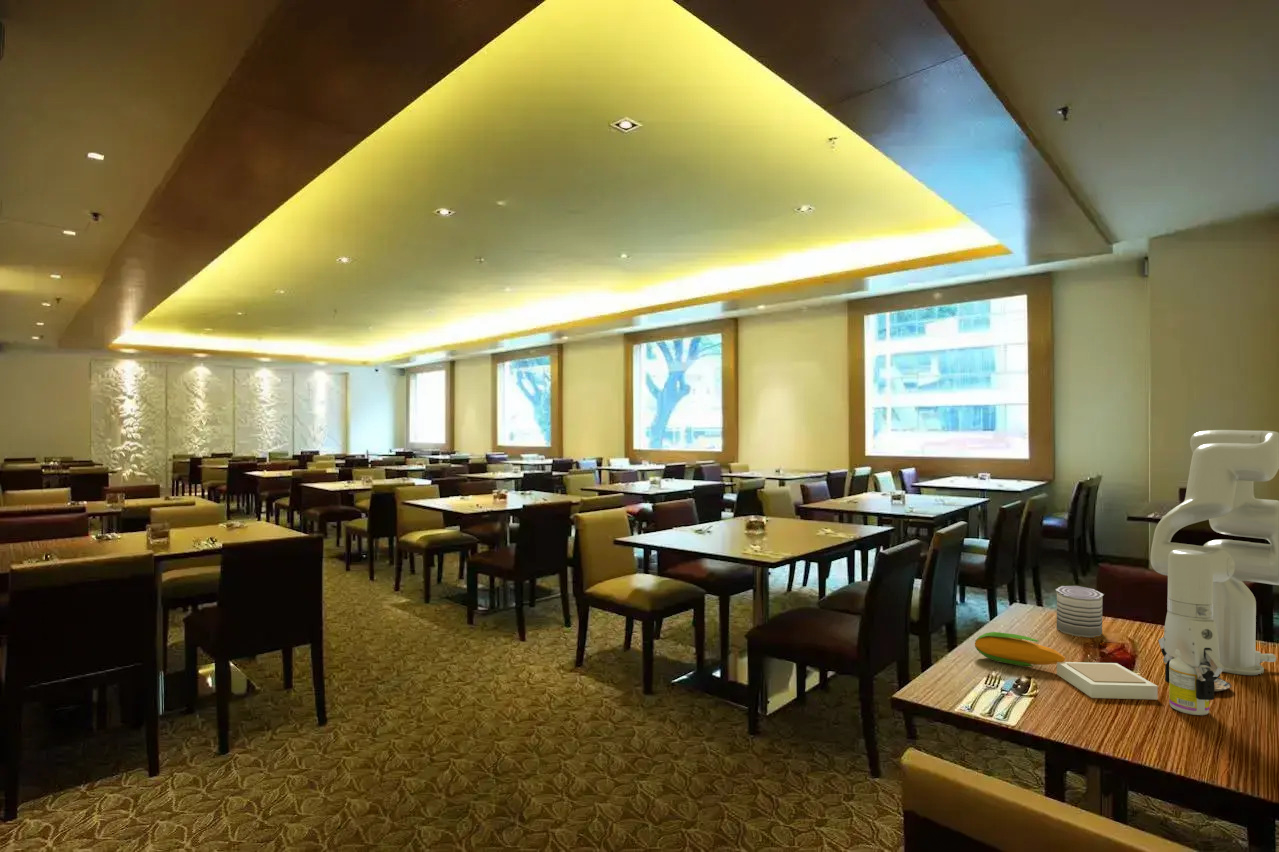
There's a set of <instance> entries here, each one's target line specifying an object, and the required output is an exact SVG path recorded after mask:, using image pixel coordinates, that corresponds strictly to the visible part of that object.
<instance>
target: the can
mask: <svg viewBox="0 0 1279 852" xmlns="http://www.w3.org/2000/svg"><path fill="white" fill-rule="evenodd" d="M1055 591H1056V629H1057V631H1059V630H1060V631H1059V632H1061V633H1062V634H1066V633H1067V635H1070V634H1071V636H1074V637H1081V636H1082V638H1096V637H1095V636H1100V635H1101V634H1102V635H1103V596H1104V595H1105V593H1102V592H1100V591H1098V590H1096V589H1094V588H1090V587H1084V586H1079V585H1061V586H1059V587H1057V588H1055ZM1102 635H1101V636H1102ZM1101 636H1100V637H1101Z"/></svg>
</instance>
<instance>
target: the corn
mask: <svg viewBox="0 0 1279 852" xmlns="http://www.w3.org/2000/svg"><path fill="white" fill-rule="evenodd" d="M1036 642H1039V640H1038V639H1035V638H1031V636H1030V637H1029V636H1025V635H1020V634H1015V633H1006V632H1000V631H990V632H986V633H983V634H981V635H979V636H978V637H977V638H976V639H975V641H974V646H975V647H974V648H975V649H976V650H977V652H978V653H980V655H982V656H984V657H985V658H986V659H990V660H991V661H994V662H999V663H1004V664H1009V665H1014V666H1019V667H1028V668H1033V665H1038V666H1047V665H1057V662H1065V660H1066V657H1065V656H1064V655H1063V654H1061V653H1060V652H1059V651H1057V650H1055V649H1054V648H1051V647H1047V646H1045V645H1042V644H1038V643H1036Z"/></svg>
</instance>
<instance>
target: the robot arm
mask: <svg viewBox="0 0 1279 852" xmlns="http://www.w3.org/2000/svg"><path fill="white" fill-rule="evenodd" d="M1189 445H1190V449H1191V452H1192V456H1191V462H1190V467H1189V473H1188V478H1187V484H1186V489H1185V490H1186V492H1185V496H1184V500H1183V501H1182V502H1181V503H1180V504H1178V505H1177V506H1175V507H1173V508H1172V509H1170V510H1169V511H1168V512H1166V514H1164V515H1163V516H1162V518H1161V519H1160V521H1158V523H1157V525H1156V527H1155V529H1154V533H1153V538H1152V542H1151V543H1152V544H1151V549H1150V557H1149V558H1150V559H1149V560H1150V564H1151V567H1152V569H1153V571H1155V572H1156V573H1158V574H1160V575H1163V576H1167V603H1166V605H1167V607H1166V608H1167V612H1166V616H1165V622H1164V632H1163V637H1161V638H1159V639H1158V643H1159V646H1160V649H1161V650H1160V652H1161V653H1162V656H1163V658H1162V659H1163V663H1164V666H1165V667H1164V668H1165V669H1164V680H1165V682H1166V683H1167V684H1169V662H1170V660H1171V659H1173V658H1177V655H1176V654H1175V651H1176V649H1178V650H1179V651H1180V653H1181V655H1182V656H1181V657H1180V658H1181V660H1182V661H1183V662H1185V663H1186V664H1188V665H1190V666H1193V667H1194V668H1195V670H1196V673H1197V675H1198V677H1199V679H1196V698H1197V699H1199V700H1209V701H1213V700H1214V699H1215V691H1214V682H1216V681H1217V678H1220V676H1221V674H1222V672H1223V673H1228V674H1234V675H1242V676H1259V675H1258V674H1260V675H1262V674H1264V672H1265V670H1264V669H1265V668H1264V666H1263V665H1261V663H1263V662H1267V663H1268V662H1269V663H1275V662H1276V661H1277V656H1276V655H1275V654H1274V653H1262V652H1260V651H1257V650H1256V635H1257V634H1256V627H1257V626H1256V625H1257V624H1256V622H1257V619H1256V618H1257V617H1256V616H1257V601H1256V597H1255V596H1254V594H1253V592H1252V591H1251V590H1250V588H1249V587H1248V586H1247V585H1246V584H1245V583H1244V582H1252V583H1259V584H1267V585H1273V586H1274V585H1275V586H1279V500H1278V499H1277V500H1276V499H1265V498H1264V499H1263V498H1256V497H1255V493H1254V491H1255V490H1254V488H1255V487H1254V483H1255V482H1269V481H1271V480H1272V479H1274V478H1275V476H1276V475H1277V473H1278V472H1279V432H1278V431H1273V430H1249V429H1247V430H1240V429H1238V430H1237V429H1213V430H1212V429H1210V430H1209V429H1207V430H1201V431H1197V432H1195V433H1193V434H1192V435H1191V437H1190V441H1189ZM1204 521H1208V522H1209V523H1208V524H1209V526H1210V528H1211V529H1212V530H1213V531H1214V532H1216V533H1217V534H1218V533H1219V534H1222V535H1226V536H1227V535H1228V536H1234V537H1244V538H1253V539H1263V540H1266V541H1268V543H1261V542H1251V541H1243V540H1236V539H1235V540H1233V539H1222V538H1221V539H1213V540H1209V541H1207V542H1205V543H1204V544H1203V545H1196V544H1187V543H1182V542H1181V543H1179V542H1171V541H1172V538H1173V537H1174V535H1175V534H1176V533H1177V532H1178V531H1179V530H1181V529H1182V528H1184V527H1187V526H1189V525H1193V524H1196V523H1200V522H1204ZM1200 663H1204V664H1205V665H1200ZM1202 669H1206V670H1207V672H1206V673H1203V671H1202ZM1261 673H1262V674H1261Z"/></svg>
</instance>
